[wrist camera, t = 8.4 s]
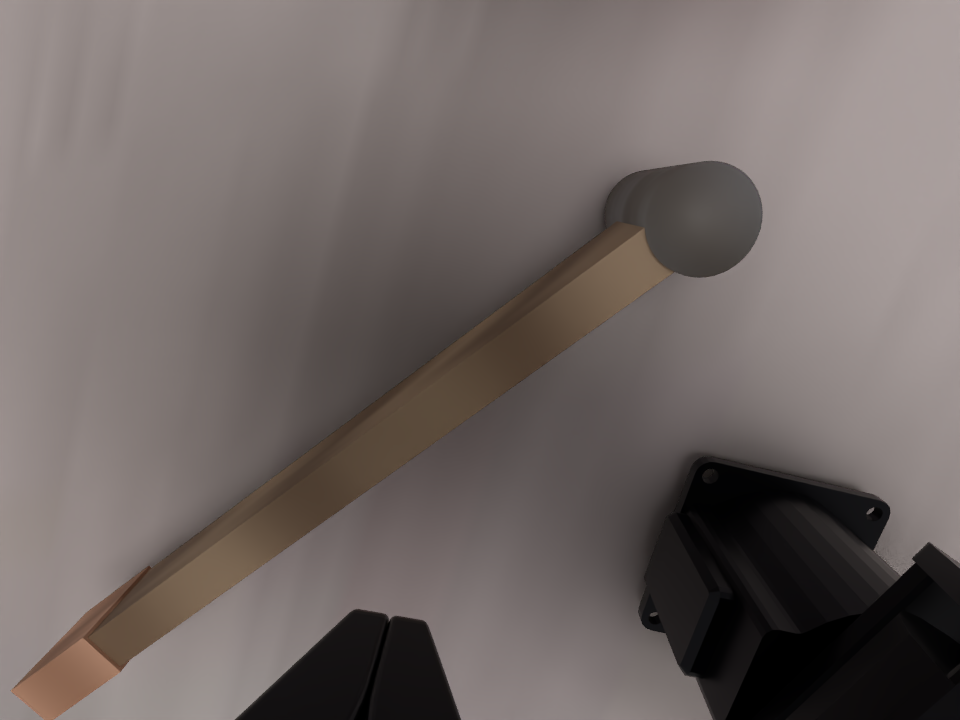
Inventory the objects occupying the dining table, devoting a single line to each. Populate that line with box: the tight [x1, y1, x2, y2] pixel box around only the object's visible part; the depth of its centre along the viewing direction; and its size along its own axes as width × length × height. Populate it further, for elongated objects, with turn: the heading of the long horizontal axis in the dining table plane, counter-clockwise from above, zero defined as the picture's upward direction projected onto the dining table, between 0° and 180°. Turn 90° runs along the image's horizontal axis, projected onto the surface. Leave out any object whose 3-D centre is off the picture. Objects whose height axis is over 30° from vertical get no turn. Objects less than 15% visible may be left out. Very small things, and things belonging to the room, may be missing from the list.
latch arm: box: [11, 161, 762, 720], centre depth 17 cm, size 23×2×5 cm, turn 127°
